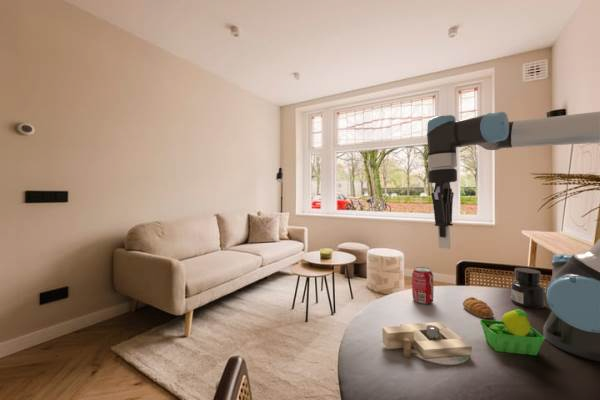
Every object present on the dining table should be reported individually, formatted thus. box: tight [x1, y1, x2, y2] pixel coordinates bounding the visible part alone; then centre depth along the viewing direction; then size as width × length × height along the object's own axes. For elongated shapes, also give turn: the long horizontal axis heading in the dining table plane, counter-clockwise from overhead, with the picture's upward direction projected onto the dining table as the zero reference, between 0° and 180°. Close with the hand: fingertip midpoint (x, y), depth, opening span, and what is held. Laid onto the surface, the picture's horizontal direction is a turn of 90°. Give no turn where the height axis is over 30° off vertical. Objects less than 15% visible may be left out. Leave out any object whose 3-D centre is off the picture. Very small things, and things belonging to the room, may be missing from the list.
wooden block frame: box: [382, 321, 473, 358], centre depth 68 cm, size 19×12×4 cm, turn 95°
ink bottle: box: [510, 267, 546, 310], centre depth 92 cm, size 10×9×12 cm
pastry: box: [462, 296, 495, 319], centre depth 86 cm, size 9×7×4 cm
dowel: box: [403, 338, 412, 359], centre depth 64 cm, size 2×2×4 cm
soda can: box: [411, 266, 434, 305], centre depth 96 cm, size 7×7×12 cm
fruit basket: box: [479, 308, 546, 356], centre depth 66 cm, size 11×9×11 cm
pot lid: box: [411, 325, 470, 367], centre depth 68 cm, size 16×16×5 cm
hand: (444, 247), depth 79 cm, fingers closed
